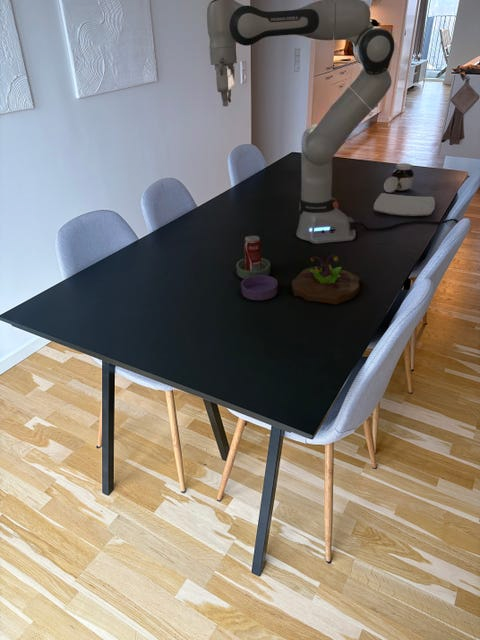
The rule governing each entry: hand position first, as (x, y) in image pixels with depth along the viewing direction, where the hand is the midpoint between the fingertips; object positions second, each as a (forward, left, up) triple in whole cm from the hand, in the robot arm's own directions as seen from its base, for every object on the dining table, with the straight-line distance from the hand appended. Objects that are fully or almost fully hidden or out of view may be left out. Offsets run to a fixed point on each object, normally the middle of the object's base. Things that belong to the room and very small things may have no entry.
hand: (227, 104), depth 161 cm
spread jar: (-73, -54, -48) cm, 102 cm away
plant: (-32, +43, -48) cm, 72 cm away
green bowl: (-9, +32, -48) cm, 58 cm away
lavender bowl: (-11, +46, -48) cm, 67 cm away
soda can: (-9, +32, -47) cm, 58 cm away
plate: (-70, -28, -48) cm, 90 cm away
